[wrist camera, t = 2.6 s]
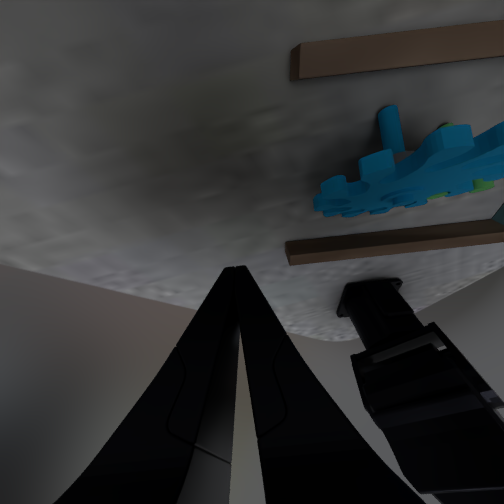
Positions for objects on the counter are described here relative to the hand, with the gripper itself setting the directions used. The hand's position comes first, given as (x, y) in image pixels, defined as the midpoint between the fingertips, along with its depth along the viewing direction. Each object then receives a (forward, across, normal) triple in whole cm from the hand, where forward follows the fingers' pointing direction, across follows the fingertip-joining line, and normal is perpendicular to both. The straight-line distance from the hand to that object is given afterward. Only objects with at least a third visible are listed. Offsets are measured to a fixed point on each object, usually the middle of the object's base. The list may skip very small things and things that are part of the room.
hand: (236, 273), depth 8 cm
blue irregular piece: (+9, -10, 0) cm, 14 cm away
